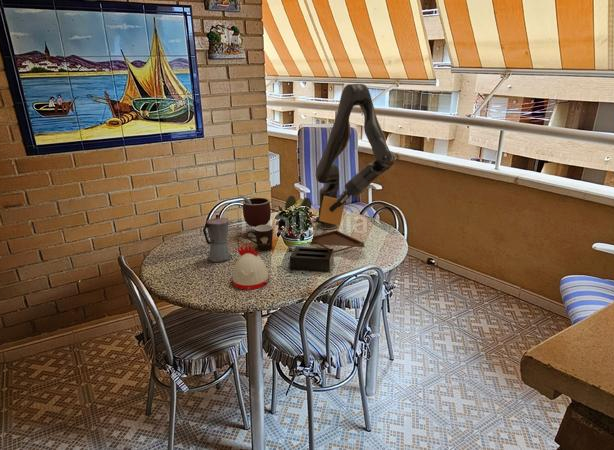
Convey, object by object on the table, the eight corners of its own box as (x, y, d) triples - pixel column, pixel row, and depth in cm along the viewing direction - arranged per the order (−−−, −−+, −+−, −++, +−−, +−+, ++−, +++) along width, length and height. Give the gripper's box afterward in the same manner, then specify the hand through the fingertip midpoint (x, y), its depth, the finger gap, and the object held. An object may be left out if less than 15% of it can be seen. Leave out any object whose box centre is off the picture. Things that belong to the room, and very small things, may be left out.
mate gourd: (275, 229, 213) (273, 192, 206) (267, 239, 200) (264, 199, 193) (247, 227, 216) (244, 191, 209) (237, 237, 203) (234, 198, 197)
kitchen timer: (238, 272, 165) (235, 238, 160) (271, 273, 164) (269, 238, 159) (228, 288, 152) (224, 252, 147) (264, 290, 151) (262, 252, 146)
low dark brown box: (287, 272, 164) (286, 256, 162) (293, 261, 174) (293, 246, 172) (329, 275, 161) (329, 259, 158) (333, 264, 171) (333, 248, 168)
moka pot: (238, 254, 183) (234, 211, 177) (217, 267, 170) (213, 222, 163) (220, 251, 187) (216, 209, 180) (199, 264, 174) (194, 219, 167)
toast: (318, 220, 189) (323, 196, 184) (319, 219, 190) (324, 195, 185) (339, 225, 187) (345, 201, 183) (340, 224, 188) (345, 200, 184)
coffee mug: (277, 245, 191) (276, 225, 188) (269, 252, 184) (268, 232, 180) (254, 243, 195) (253, 223, 192) (246, 250, 187) (244, 229, 184)
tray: (307, 241, 196) (307, 237, 195) (335, 233, 204) (335, 230, 204) (334, 255, 179) (334, 251, 178) (364, 246, 187) (364, 242, 187)
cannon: (291, 227, 215) (290, 206, 211) (272, 224, 220) (271, 204, 217) (313, 214, 236) (312, 195, 232) (295, 211, 241) (294, 192, 237)
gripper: (353, 175, 186) (327, 200, 192) (350, 181, 173) (322, 208, 180) (364, 186, 186) (338, 211, 193) (362, 194, 174) (334, 220, 180)
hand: (330, 209), depth 186 cm, fingers closed on toast, 1 cm apart
